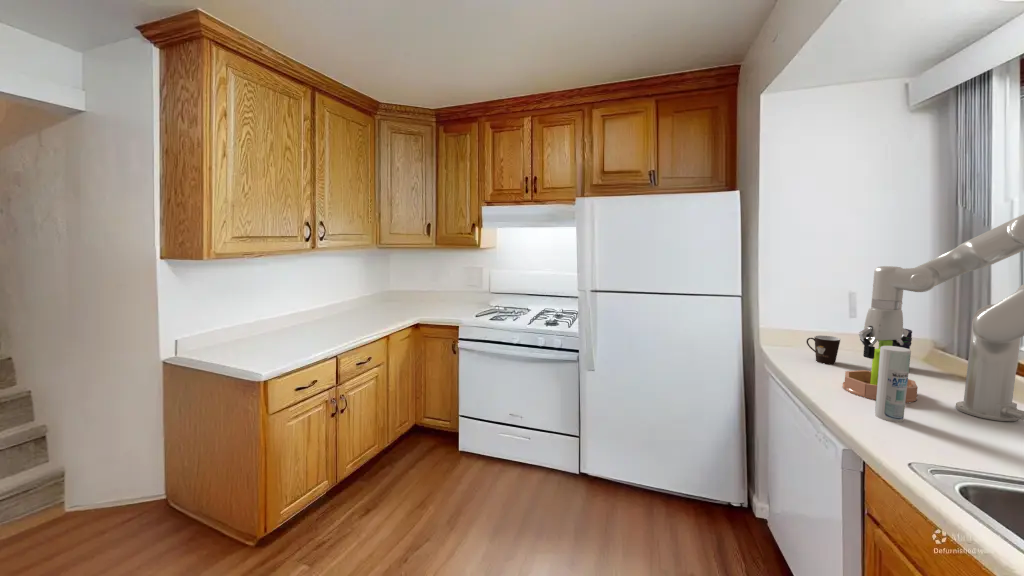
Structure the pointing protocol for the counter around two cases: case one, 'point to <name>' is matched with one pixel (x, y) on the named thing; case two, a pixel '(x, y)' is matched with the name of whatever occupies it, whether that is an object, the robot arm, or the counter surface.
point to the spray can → (892, 383)
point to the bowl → (861, 385)
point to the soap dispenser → (876, 361)
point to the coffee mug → (825, 348)
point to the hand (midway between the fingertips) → (881, 357)
